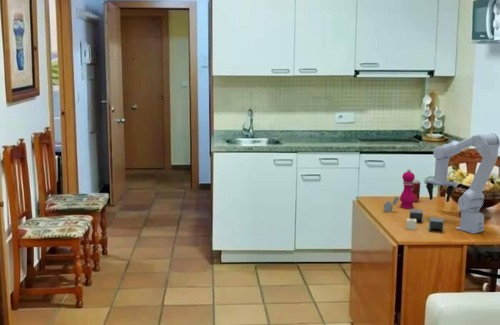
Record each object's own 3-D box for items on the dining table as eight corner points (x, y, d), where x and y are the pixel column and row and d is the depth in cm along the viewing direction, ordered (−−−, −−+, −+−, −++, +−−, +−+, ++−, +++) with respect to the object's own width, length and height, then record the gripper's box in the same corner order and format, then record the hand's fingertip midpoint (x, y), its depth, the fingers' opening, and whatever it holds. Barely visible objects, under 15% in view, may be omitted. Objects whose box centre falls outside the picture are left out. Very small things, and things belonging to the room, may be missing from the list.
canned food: (401, 199, 319) (402, 179, 317) (413, 198, 322) (415, 179, 320) (408, 203, 312) (410, 182, 310) (422, 202, 314) (423, 181, 313)
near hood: (428, 228, 266) (429, 217, 266) (442, 229, 265) (443, 218, 264) (429, 231, 261) (429, 220, 260) (442, 232, 259) (443, 221, 259)
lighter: (383, 212, 293) (384, 196, 292) (383, 211, 295) (384, 195, 293) (398, 212, 293) (399, 196, 291) (397, 211, 294) (398, 196, 293)
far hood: (409, 219, 281) (410, 209, 280) (422, 220, 279) (422, 209, 278) (409, 222, 275) (409, 212, 274) (422, 223, 274) (422, 213, 273)
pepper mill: (414, 209, 299) (416, 170, 295) (399, 208, 300) (401, 169, 297) (413, 206, 306) (415, 167, 302) (399, 205, 307) (401, 167, 304)
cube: (406, 226, 268) (407, 218, 268) (415, 227, 268) (416, 218, 267) (406, 229, 265) (407, 220, 264) (415, 230, 264) (416, 221, 263)
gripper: (423, 171, 277) (421, 200, 279) (455, 175, 269) (453, 204, 272) (427, 169, 283) (425, 197, 285) (458, 172, 275) (456, 201, 278)
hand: (439, 200), depth 279 cm, fingers open, 7 cm apart
